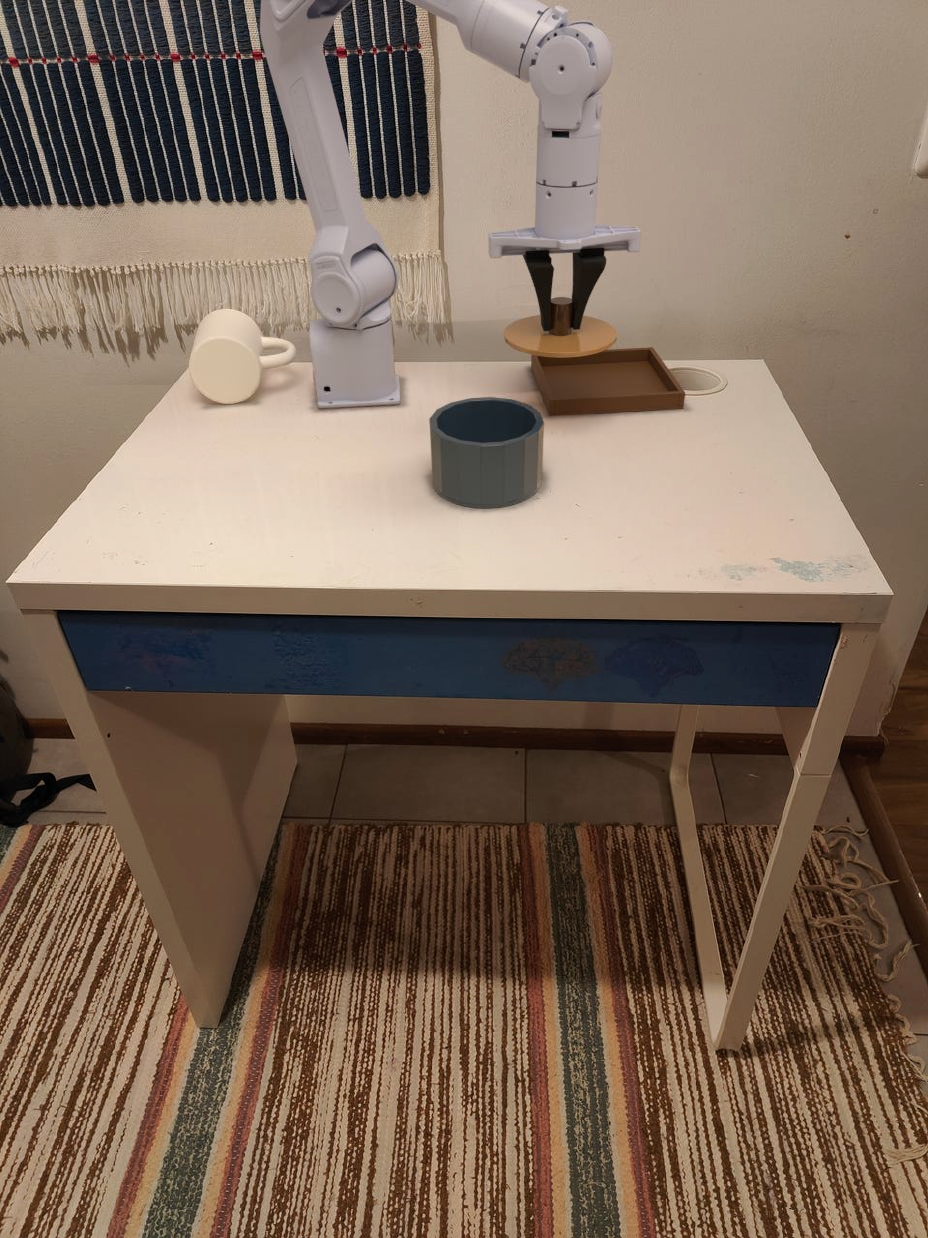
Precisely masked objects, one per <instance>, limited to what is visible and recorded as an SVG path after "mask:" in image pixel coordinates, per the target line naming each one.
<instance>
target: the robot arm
mask: <svg viewBox="0 0 928 1238" xmlns="http://www.w3.org/2000/svg"><path fill="white" fill-rule="evenodd" d="M353 1H354V0H260V14H259V15H260V18H259V22H260V23H259V34H260V40H261V44H262V48H263V51H264V55H265V58H266V61H267V65H268V69H269V72H270V76H271V80H272V83H273V86H274V91H275V94H276V96H277V97H276V98H277V100H278V104H279V107H280V110H281V115H282V118H283V122H284V125H285V128H286V131H287V136H288V138H289V142H290V145H291V149H292V152H293V156H294V160H295V163H296V167H297V170H298V174H299V177H300V180H301V181H300V182H301V185H302V188H303V191H304V194H305V195H304V196H305V199H306V202H307V205H308V208H309V212H310V216H311V219H312V223H313V226H314V229H315V234H314V239H313V240H312V244H311V246H310V250H309V253H308V258H307V261H308V264H309V267H310V272H311V283H310V296H311V301H312V304H313V306H314V308H315V310H316V311H317V313H318V314H319V316H321V318H319V319H312V320H310V321H309V344H310V345H309V346H310V353H311V362H312V369H313V370H312V377H313V384H314V386H315V392H316V399H317V407H318V408H319V409H331V408H349V407H367V406H369V407H370V406H384V405H398V404H401V388H400V385H401V384H400V375H399V374H396V366H395V364H396V363H395V353H394V351H395V350H394V339H393V338H394V337H393V325H392V312H391V298H392V297H393V296H394V295H395V294H396V292H397V290H398V287H399V283H400V282H399V280H400V276H399V270H398V267H397V265H396V264H397V263H396V262H395V260H394V259H393V257H392V255H390V253H389V252H388V250H387V248H386V246H385V244H384V241H383V236H382V233H381V232H380V230H378V228H377V227H376V226H375V225H374V224H373V223H371V221H369V220H368V219H367V218H366V215H365V210H364V207H363V203H362V198H361V195H360V192H359V187H358V184H357V180H356V175H355V172H354V171H355V170H354V166H353V163H352V159H351V155H350V151H349V147H348V143H347V140H346V136H345V131H344V129H343V125H342V120H341V116H340V113H339V108H338V105H337V101H336V100H337V99H336V96H335V93H334V89H333V84H332V81H331V77H330V72H329V70H328V65H327V62H326V57H325V53H324V49H323V46H324V43H325V40H326V38H327V37H328V34H329V33H330V31H331V29H332V27H333V25H334V23H335V21H336V19H337V17H338V15H339V14H341V12H343V11H344V10H345V9H346V8H347V7H348V6H349V5H350V4H351V3H352V2H353ZM405 1H406V2H408V3H410V4H412V5H414V6H416V7H418V8H421V9H422V10H424V11H427V12H428V13H430V14H432V15H434V16H436V17H438V18H440V19H442V20H444V21H446V22H449V23H450V24H453V25H454V26H456V28H457V31H458V33H459V36H460V39H461V43H462V45H463V47H464V49H465V50H466V51H468V52H470V53H471V54H473V55H475V56H477V57H479V58H481V59H482V60H484V61H486V62H488V63H489V64H491V65H493V66H495V67H497V68H498V69H500V70H502V71H504V72H506V73H508V74H509V75H511V76H513V77H515V78H516V79H518V80H520V81H521V82H523V83H526V84H529V83H530V86H531V88H532V91H533V93H534V94H535V97H537V100H538V124H537V131H536V132H537V135H536V136H537V140H536V141H537V142H536V177H535V178H536V179H535V210H534V211H535V213H534V216H535V217H534V226H532V227H525V228H518V229H517V228H516V229H511V230H504V231H493V232H491V231H489V232H488V255H489V257H490V259H501V258H502V257H506V256H507V257H510V256H522V259H523V260H524V262H525V264H526V267H527V270H528V272H529V273H528V274H529V276H530V278H531V282H532V285H533V288H534V290H535V295H536V298H537V303H538V307H539V315H541V326H542V328H543V330H544V331H551V322H552V321H551V299H552V292H553V281H554V271H555V267H554V266H553V264H552V261H553V260H552V259H553V258H552V257H551V256H550V255H553V254H572V290H571V291H572V292H571V299H573V301H574V303H573V321H572V328H573V330H579V329H580V326H581V322H582V318H583V316H584V314H585V311H586V308H587V305H588V302H589V299H590V297H591V295H592V292H593V291H594V289H595V286H596V284H597V283H598V281H599V279H600V277H601V276H602V274H603V272H604V271H605V269H606V265H607V257H606V256H605V252H621V251H627V252H628V253H639V252H640V248H641V247H640V246H641V238H642V230H641V229H640V228H639V227H638V226H637V225H603V224H602V225H600V224H596V216H597V215H596V213H597V197H598V185H599V172H600V171H599V170H600V155H601V142H602V141H601V140H602V108H603V92H602V91H600V90H602V88H603V87H604V86H605V85H606V83H607V82H608V79H609V77H610V75H611V71H612V67H613V50H612V46H611V43H610V41H609V39H608V38H607V36H606V34H605V33H604V32H603V31H602V30H601V29H599V28H598V27H597V26H596V25H595V24H594V23H593V21H592V20H588V19H586V20H585V19H583V20H582V19H580V20H576V21H572V22H570V23H568V16H569V10H568V9H567V8H565V7H563V6H561V5H555V6H554V7H553V8H551V7H550V6H548V5H546V4H545V3H542V2H541V1H538V0H405Z"/></svg>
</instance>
